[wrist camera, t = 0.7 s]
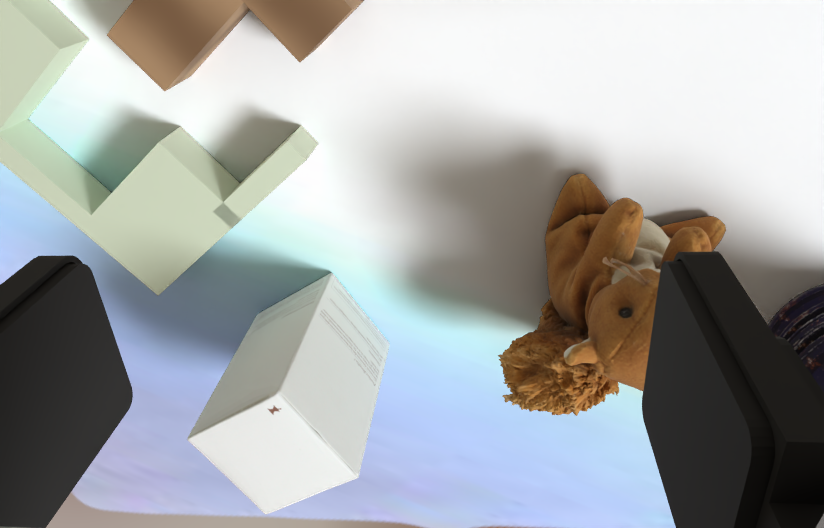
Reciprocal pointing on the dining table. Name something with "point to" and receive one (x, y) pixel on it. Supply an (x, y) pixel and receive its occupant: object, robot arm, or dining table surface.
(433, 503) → the dining table surface
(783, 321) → the dark blue barrel
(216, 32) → the tee
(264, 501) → the supplement box
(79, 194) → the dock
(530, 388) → the stuffed squirrel
